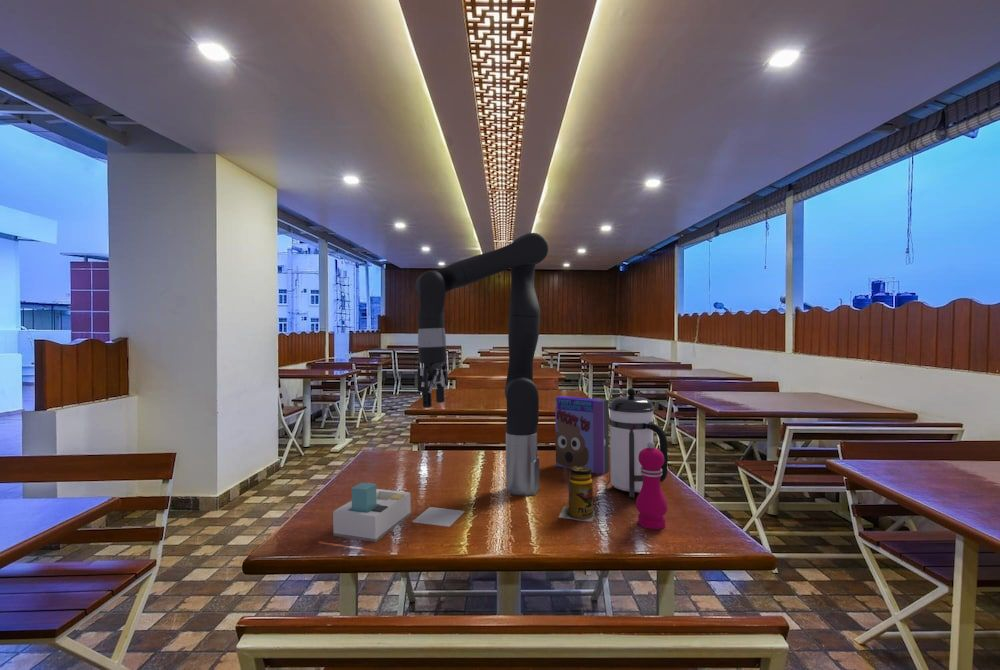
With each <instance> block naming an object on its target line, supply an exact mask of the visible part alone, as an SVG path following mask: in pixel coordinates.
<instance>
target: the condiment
mask: <svg viewBox="0 0 1000 670" xmlns="http://www.w3.org/2000/svg"><path fill="white" fill-rule="evenodd" d="M569 471H570V472H569V478H568V506H563V507H562V509H561V511H560V513H559V516H558V519H559V518H560V519H561V518H562V519H568V520H576V521H580V522H581V521H582V522H591V523H592V522H593V521H594V519H595V515H596V510H595V509H593V508H594V506H593V504H594V502H593V498H594V497H593V492H594V491H593V483H594V481H593V478H592V473H591V469H590V468H588V467H585V466H573V467H571V469H569Z"/></svg>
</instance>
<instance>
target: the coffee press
mask: <svg viewBox="0 0 1000 670" xmlns="http://www.w3.org/2000/svg"><path fill="white" fill-rule="evenodd" d="M626 393H627V395H628V396H627V395H626V396H617V397H615V398H613V399H612V400H611V401H610V404H609V414H610V415H609V464H610V479H609V480H608V482H607V483H606V484H605V489H606V490H607V491H610V490H611V489H613V488H616V489H618V490H621V491H624V492H628V494H629V495H628V496H629V500H635V493H640V491H641V488H642V485H643V476H642V474H641V467H642V465H641V464H640V463H639V460H638V456H639V453H640V451H641V450H642V449H644V448H648V446H647V444H648V442H650V441H651V442H654V443H655V434H656V435H657V436H658V439H659V441H658V442H659V450H660V451H661V452H662V453H663V455H664V464H663V466H662V467H661V469H662V476H660V483H662V482H664V481H665V480H666V479H667V476H668V456H669V455H668V440H667V436H666V433H665V431H664V429H663V428H662V427H661V426H660V425H658V424H655V420H654V411H655V406H654V405H653V403H652V401H651V400H650V399H648V398H645V397H643V396H642V397H641V396H635V394H636V391H635V389H634V388H628V389H627V391H626ZM609 483H611V486H610V487H607V486H608V485H609Z"/></svg>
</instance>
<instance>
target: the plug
mask: <svg viewBox="0 0 1000 670" xmlns="http://www.w3.org/2000/svg"><path fill="white" fill-rule="evenodd" d="M376 489H377V483H369V482H360V483H358V484H356V485H354V486H352V487H351V501H352V511H356V512H364V513H368V512H370V511H371V510H372V509H373V508H375V507H377V505H376Z"/></svg>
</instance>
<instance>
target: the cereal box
mask: <svg viewBox="0 0 1000 670" xmlns="http://www.w3.org/2000/svg"><path fill="white" fill-rule="evenodd" d="M554 403H555V407H554V409H555V411H554V413H555V415H554V416H555V417H554V419H555V467H557V468H561V469H562V468H563V469H568V470H570V469H571V467H573V466H585V467H588V468H590V469H591V474H597V475H602V476H604V475H605V474H607V473H608V472H609V473H610V438H609V418H610V415H609V414H610V410H609V405H610V404H609V403H610V402H609V399H601V398H590V397H589V398H588V397H577V396H576V397H574V396H565V395H564V396H563V395H561V396H560V395H559V396H556V397H555V401H554Z"/></svg>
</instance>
